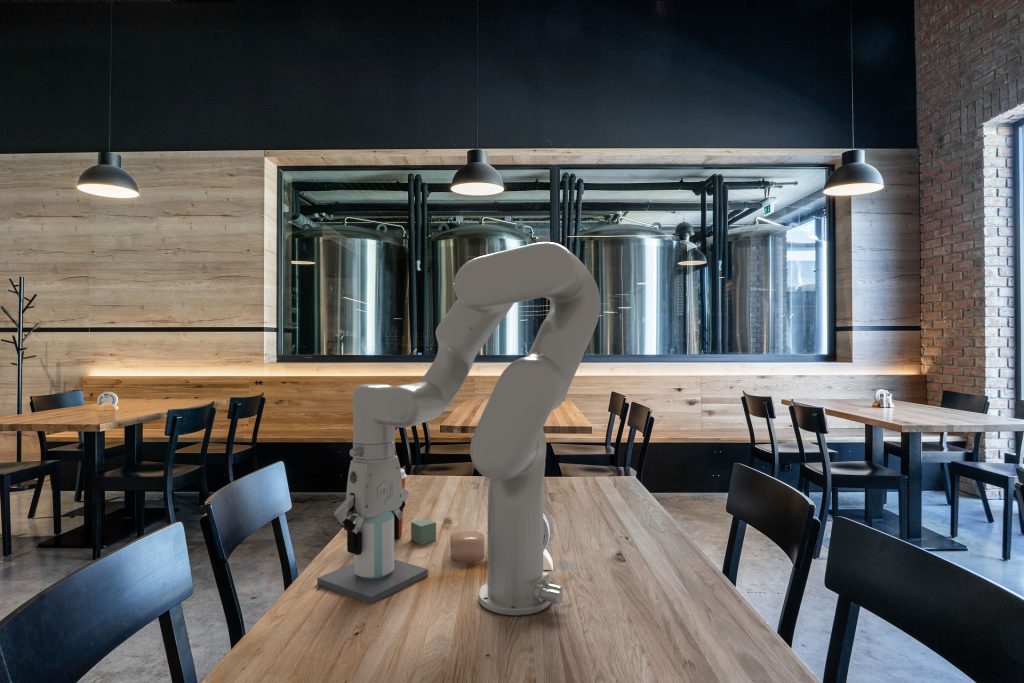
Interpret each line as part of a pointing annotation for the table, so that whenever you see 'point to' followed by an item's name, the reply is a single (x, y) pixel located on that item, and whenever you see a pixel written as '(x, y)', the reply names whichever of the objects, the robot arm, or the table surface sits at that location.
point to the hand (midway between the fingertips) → (373, 545)
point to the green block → (423, 531)
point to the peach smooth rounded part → (467, 546)
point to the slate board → (371, 581)
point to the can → (376, 547)
